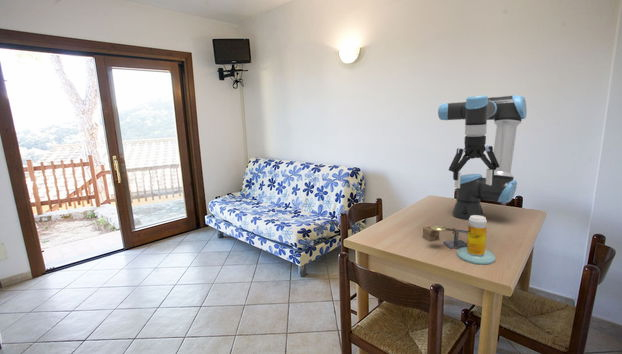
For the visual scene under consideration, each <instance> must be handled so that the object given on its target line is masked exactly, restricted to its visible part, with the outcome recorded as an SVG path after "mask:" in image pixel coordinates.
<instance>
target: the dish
mask: <svg viewBox="0 0 622 354" xmlns="http://www.w3.org/2000/svg"><path fill="white" fill-rule="evenodd" d="M456 256H457V257H458V258H459V259H461V260H463V262H467V263H469V264H474V265H491V264H493V263H495V261H496V255H495V254H494V253H493V252H491V251H490V250H487V249H485V254H483V255H482V256H473V255H471V254H469V252H468V251H467V247H463V248H459V249H457V253H456Z"/></svg>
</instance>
